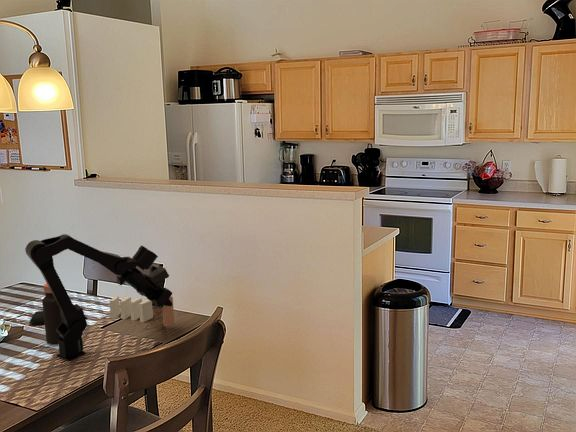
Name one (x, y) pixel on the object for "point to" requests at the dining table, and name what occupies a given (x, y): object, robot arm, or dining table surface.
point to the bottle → (51, 316)
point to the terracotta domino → (168, 314)
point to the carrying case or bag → (37, 318)
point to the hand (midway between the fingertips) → (170, 304)
